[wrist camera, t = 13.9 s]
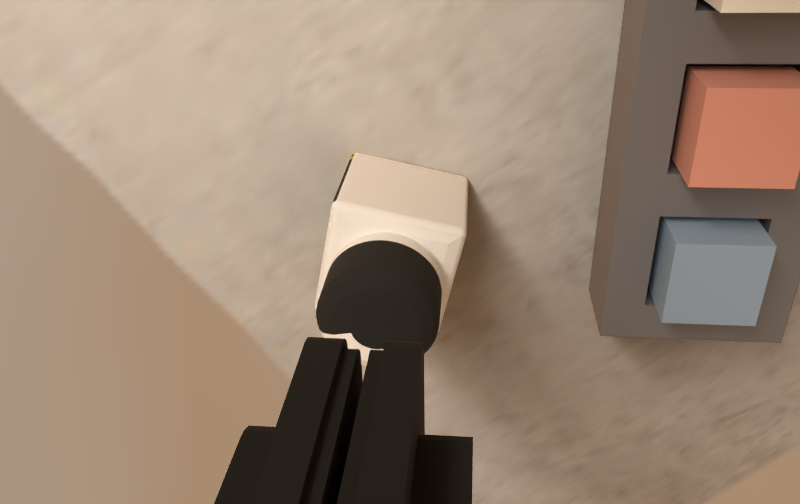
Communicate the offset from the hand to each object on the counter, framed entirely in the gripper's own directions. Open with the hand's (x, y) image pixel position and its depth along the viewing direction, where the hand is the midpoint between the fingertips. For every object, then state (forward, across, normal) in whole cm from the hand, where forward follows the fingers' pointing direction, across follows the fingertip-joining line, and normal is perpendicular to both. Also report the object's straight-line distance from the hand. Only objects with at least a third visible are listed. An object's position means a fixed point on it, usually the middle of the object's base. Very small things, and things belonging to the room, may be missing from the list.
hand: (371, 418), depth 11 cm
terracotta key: (+28, -14, +5) cm, 32 cm away
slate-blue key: (+28, -14, +13) cm, 34 cm away
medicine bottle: (+32, +3, +13) cm, 35 cm away
